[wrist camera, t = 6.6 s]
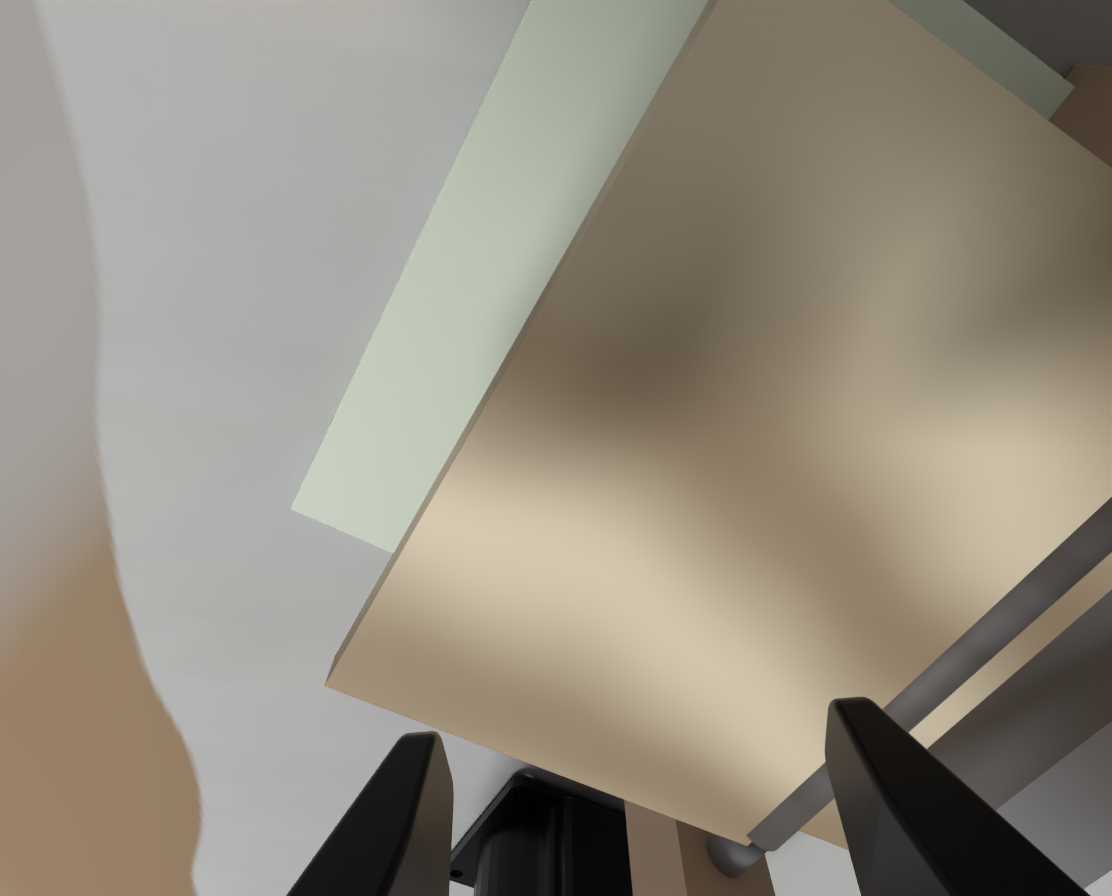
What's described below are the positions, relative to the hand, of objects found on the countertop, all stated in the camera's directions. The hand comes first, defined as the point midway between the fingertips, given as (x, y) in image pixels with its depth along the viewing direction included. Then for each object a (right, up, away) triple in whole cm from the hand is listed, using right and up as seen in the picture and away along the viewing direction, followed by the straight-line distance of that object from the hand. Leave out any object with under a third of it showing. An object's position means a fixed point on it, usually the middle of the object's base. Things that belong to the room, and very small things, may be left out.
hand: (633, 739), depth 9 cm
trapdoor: (+4, +2, +6) cm, 7 cm away
